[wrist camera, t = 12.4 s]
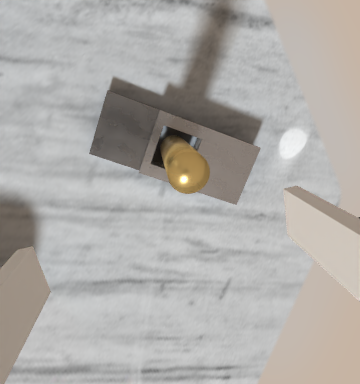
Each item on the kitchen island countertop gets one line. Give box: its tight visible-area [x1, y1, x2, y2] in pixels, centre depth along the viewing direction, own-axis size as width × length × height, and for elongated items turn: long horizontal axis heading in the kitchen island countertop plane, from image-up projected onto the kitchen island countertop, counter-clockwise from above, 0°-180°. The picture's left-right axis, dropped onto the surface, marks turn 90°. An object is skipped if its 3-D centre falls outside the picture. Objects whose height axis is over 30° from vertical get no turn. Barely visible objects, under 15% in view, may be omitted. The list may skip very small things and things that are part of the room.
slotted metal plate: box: [89, 90, 260, 204], centre depth 37 cm, size 20×8×3 cm, turn 70°
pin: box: [160, 135, 210, 194], centre depth 31 cm, size 4×4×15 cm
